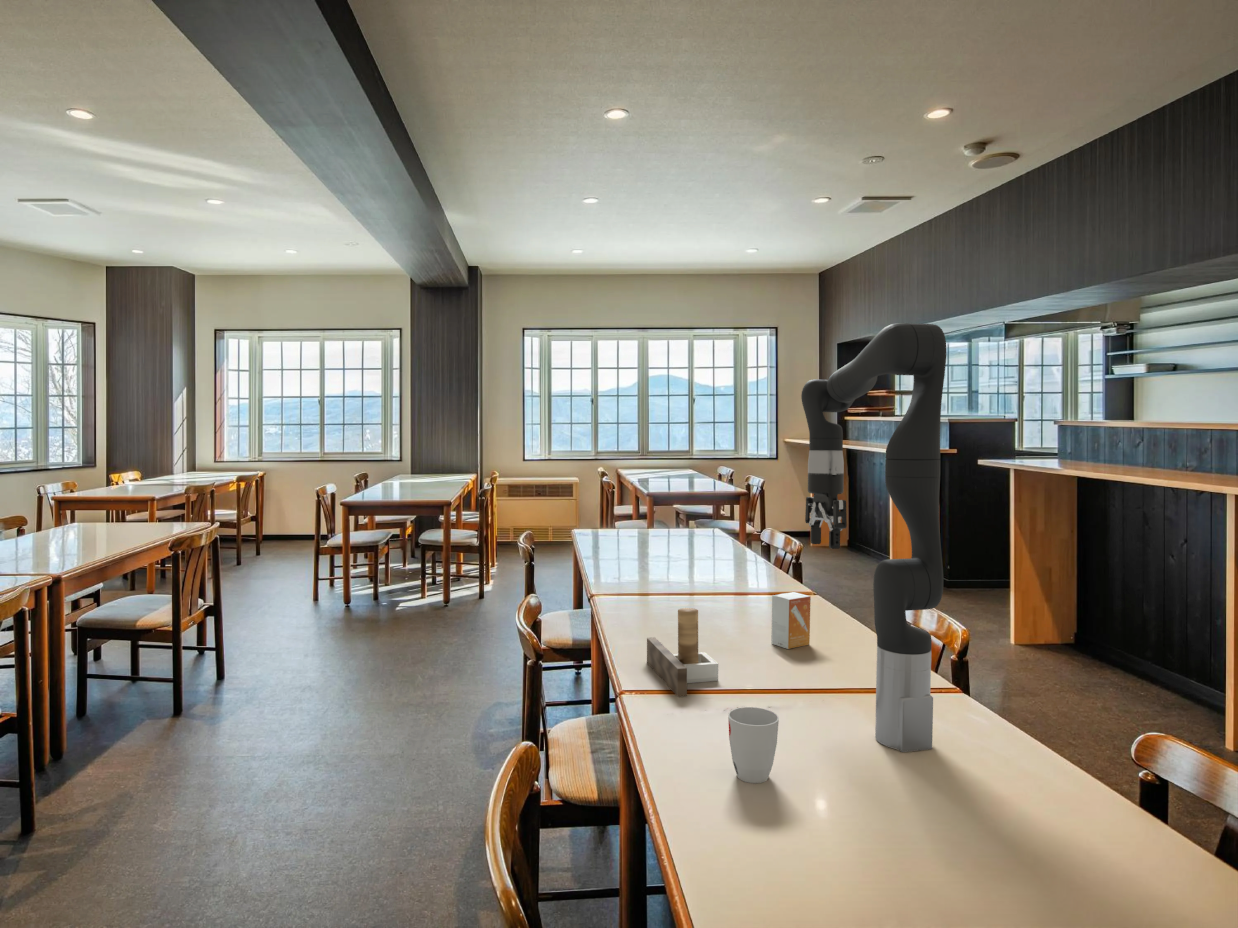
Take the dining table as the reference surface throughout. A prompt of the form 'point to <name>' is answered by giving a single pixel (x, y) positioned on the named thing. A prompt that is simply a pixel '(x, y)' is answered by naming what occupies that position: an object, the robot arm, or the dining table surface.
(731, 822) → the dining table surface
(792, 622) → the small box
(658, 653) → the board
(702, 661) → the white square tray
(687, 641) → the oak dowel
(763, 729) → the cup
